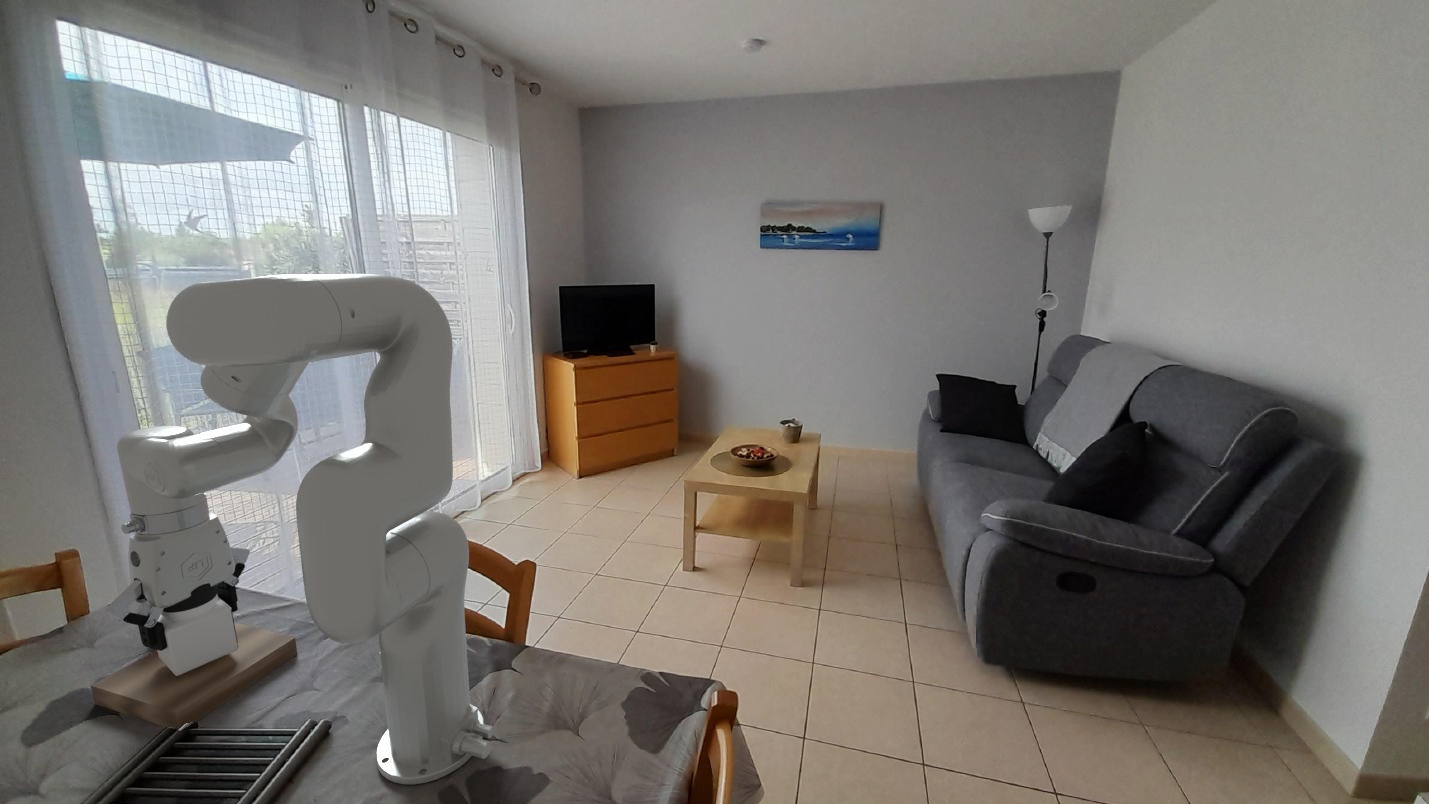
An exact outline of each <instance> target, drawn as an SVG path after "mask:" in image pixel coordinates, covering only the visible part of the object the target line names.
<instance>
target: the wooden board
mask: <svg viewBox="0 0 1429 804" xmlns="http://www.w3.org/2000/svg"><path fill="white" fill-rule="evenodd" d="M234 624H235V630H236V636H237V641H238V647H239V648H238V649H237V650H236V651H234V652H231V653H229V654H227V655H225V656H222V657H220V658H218V659H215V660H213V661H211V662H209V663H206V664H204V665H202V666H199V667H197V668H195V669H193V670H190V671H188V672H186V673H183V674H181V675H179V676H176V675H175V674H174V673H173V672H172V671H171V670H170V669H169V668H168V667H167V665H166V664H165V663H164V662H163V661H162V660H161V659H160V658H159V655H158V651H157V650H156V649H155V650H154V651H152V652H150V653H149V654H147V655H145V656H143V657H141V658H140V659H138V660H136V661H134V662H132V663H130V664H128V665H127V666H125V667H123V668H121V669H118V670H117V671H115V672H113V673H112V674H109V675H108V676H106V677H104V678H102V679H100V680H98V681H96V682H95V683H92V684H91V685H90V689H91V693H92V697H93V701H94V704H95V705H97V706H100V707H103V708H106V709H108V710H112V711H115V712H118V713H120V714H121V713H122V714H125V715H128V716H130V717H131V716H132V717H134V718H137V719H141V720H142V721H146V722H150V723H152V724H156V725H159V726H162V727H165V728H168V727H173V728H174V727H176V728H181V727H182V726H183V725H184V724H186V723H190V722H195V723H197V722H199V721H200V720H202V719H203V718H205V717H206V716H208V715H209V714H210V713H212V712H213V711H215V710H216V709H218V708H219V707H221V706H223V705H224V704H226V703H227V702H228V701H230V700H231V699H233V698H235V697H236V696H237V695H239V694H240V693H242V692H244V691H245V690H246V689H248V688H249V687H251V686H252V685H255V683H257V682H258V681H260V680H261V679H262V678H265V676H267V675H269V674H270V673H272V672H274V671H275V670H277V669H278V668H279V667H281V666H282V665H283V664H285V663H286V662H288V661H289V660H291V659H293V658H294V657H296V656H298V648H297V642H296V637H295V636H290V635H285V634H282V633H278V632H275V631H274V632H273V631H270V630H267V629H262V628H260V627H255V626H252V625H251V626H250V625H247V624H242V623H240V622H235V621H234Z"/></svg>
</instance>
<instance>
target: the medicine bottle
mask: <svg viewBox="0 0 1429 804" xmlns="http://www.w3.org/2000/svg"><path fill="white" fill-rule="evenodd" d="M233 613H234V612H232V608H231V607H230V606H229V605H228V604H226V603H225V602H224V601H223V600H222V599H220V598H219V597H218V595H217V590H216V585H215V586H211V585H210V583H207V584H203V585H201V586H199V587H197V588H195V589H194V590H193V591H192V592H191V596H190V597H189V598H187V599H185V600H183V601H181V602H179V603H177V604H175V605H172V606H170V607H166V608H164V609H163V611H162V613H161V615H160V617H159V619H158V621H157V622H161V623H163V625H164V630H165V631H164V633H165V638H166V642H167V648H166V649H164V650H162V651H160V650H157V651H158V655H159V658H160V659H161V660H162V661H163V662H164V663H165V664H166V665H167V667H168V668H169V669H170V670H171V671H172V672H173V673H174V674H175V675H176V676H179V675H181V674H183V673H186V672H188V671H190V670H193V669H195V668H197V667H199V666H202V665H204V664H206V663H209V662H211V661H213V660H215V659H218V658H220V657H222V656H225V655H227V654H229V653H231V652H234V651H236V650H237V649H238V648H239V647H238V641H237V636H236V630H235V624H234V622H235V620H234V614H233Z"/></svg>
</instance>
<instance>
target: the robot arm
mask: <svg viewBox="0 0 1429 804" xmlns="http://www.w3.org/2000/svg"><path fill="white" fill-rule="evenodd" d="M165 323H166V326H165V327H166V330H167V335H168V338H169V339H170V343H171V345H172V346H173V347H174V348H175V350H176V351H177V352H178V353H179V354H180V355H181V357H183V358H185V359H187V360H188V361H190V362H193V363H195V364H196V365H200V366H204V368H203V370H202V371H201V374H200V387H201V389H202V390H203V392H204V394H205V395H206V396H207V397H208V399H210V400H211V401H212V402H213V403H215V404H216V405H218V406H219V407H221V408H223V409H225V410H228V411H230V412H232V413H235V414H240V415H243V416H246V417H245V418H244V420H242V421H241V422H240V423H235V424H232V425H227V426H224V427H219V428H215V429H210V430H206V431H202V432H198V433H194V432H193V431H192V430H191V429H190V428H187V427H185V426H181V425H180V426H179V425H159V426H152V427H151V426H150V427H144V428H139V429H135V430H132V431H130V432H128V433H125V434H122V436H121V437H120V438H118V439H119V440H118V441H117V444H116V449H117V454H118V459H119V464H120V469H121V473H122V478H123V483H124V486H125V492H126V497H127V501H128V505H129V506H128V507H129V510H130V513H129V519H130V520H129V521H127V522H126V523H124V524H122V525H121V527H120V528H121V532H122V533H123V534H125V535H128V534H131V533H134V534H131V535H130V536H129V542H128V573H129V582H130V584H129V586H127V587H126V588H125V590H123V591H122V592H121V593H120V594H119V595H118V596H117V597H116V598H115V599H114V600H113V601H112V602H111V603H110V604H109V605H107V607H106V608H105V609H104V613H105V614H108V615H109V616H111V617H112V618H114V619H117V620H118V621H120V622H123V623H127V624H130V625H136V626H137V628H138V630H139V636H140V639H141V643H142V645H143V646H144V647H145V648H149V649H154V650H155V651H156V650H160V651H162V650H164V649H166V648H167V642H166V638H165V633H164V631H165V630H164V625H163V623H161V622H157V621H158V619H159V617H160V615H161V613H162V611H163V609H164V608H166V607H170V606H172V605H175V604H177V603H179V602H181V601H183V600H185V599H187V598H189V597H190V596H191V592H192V591H193V590H194V589H195V588H197V587H199V586H201V585H203V584H207V583H210V585H211V586H215V585H216V590H217V595H218V597H219V598H220V599H222V600H223V601H224V602H225V603H226V604H228V605H229V606H230V607H231V608H232V613H235V612H237V611H238V610H239V607H238V603H237V602H238V601H239V599H238V594H237V593H238V592H237V589H236V586H237V585H238V584H239V583H240V579H239V578H240V576H241V574H242V573H243V571H244V570H245V568H246V562H248V561H247V560H248V558H249V555H250V552H251V551H250V549H248V548H243V547H232V546H231V545H230V542H229V539H228V535H227V533H226V531H225V528H224V526H223V524H222V522H221V521H220V519H219V517H218V515H217V514H216V513H210V509H209V503H208V498H207V493H208V492H210V491H214V490H216V489H217V490H218V489H219V488H222V487H225V486H227V485H231V484H233V483H236V482H237V483H238V482H239V481H240V482H241V481H242V480H245V479H249V478H252V477H255V476H257V475H261V474H263V473H266V472H267V471H269V470H270V469H271V468H273V467H274V466H276V465H277V464H278V463H279V462H280V461H281V459H282V458H283V457H284V456H285V454H286V453H287V451H288V449H289V448H290V446H291V445H292V443H293V442H294V440H295V438H296V437H297V433H298V429H299V421H298V412H297V408H296V405H295V403H294V402H293V400H292V398H291V396H290V394H291V393H292V391H293V389H294V388H295V386H296V384H297V382H298V380H299V379H300V378H301V376H302V374H304V371H305V369H306V368H307V366H308V365H309V363H312V362H318V361H319V362H320V361H324V360H325V361H326V360H330V359H339V358H344V357H350V356H351V357H352V356H355V355H356V356H357V355H362V354H367V353H374V352H376V353H377V354H378V355H379V357H380V358H379V360H378V362H377V363H376V365H375V367H374V369H373V371H372V372H371V375H370V376H369V379H368V382H367V385H366V389H365V393H364V397H363V399H364V400H363V408H364V409H363V411H364V418H365V431H364V432H365V434H364V438H363V441H362V442H361V444H360V445H358V446H357V447H352V448H350V449H347V450H344V451H341V452H338V453H335V454H333V455H330V456H328V457H327V458H324V459H322V460H320V461H319V462H317V463H316V464H315V465H313V466H312V467H311V468H310V469H309V470H308V471H307V472H306V474H305V475H304V477H303V479H302V480H301V482H300V485H299V488H298V490H297V493H296V495H297V496H296V501H295V513H296V514H295V516H296V526H297V527H296V528H297V533H298V534H297V535H298V537H297V538H298V543H299V553H300V555H299V556H300V562H301V572H302V579H303V587H304V589H303V590H304V594H305V600H306V605H307V608H308V611H309V613H310V617H311V619H312V621H313V623H314V624H315V625H316V627H317V628H318V630H319V631H320V632H321V633H322V634H323V635H324V636H326V637H327V638H328V639H330V640H332V641H334V642H337V643H340V644H345V645H346V644H347V645H349V644H350V645H351V644H352V645H353V644H357V643H362V642H365V641H367V640H369V639H371V638H374V637H375V636H377V635H378V646H379V649H378V650H379V658H380V665H381V676H382V683H383V685H382V686H383V687H382V688H383V695H384V705H385V714H386V721H387V722H386V723H387V730H386V731H385V732H384V734H383V735H382V737H381V739H380V740H379V742H378V744H377V747H376V748H377V749H376V752H375V753H376V754H375V755H376V765H377V769H378V771H379V772H380V774H381V775H382V776H383V777H384V778H385V779H386V780H388V781H390V782H392V783H396V784H400V785H417V784H419V785H420V784H425V783H426V784H427V783H428V782H432V781H436V780H438V779H441V778H443V777H445V776H447V775H449V774H451V773H453V772H454V771H456V770H457V769H459V768H461V767H462V766H463V765H464V764H466V763H467V762H468V761H469V760H470V759H471V757H476V758H479V759H483V760H485V759H487V757H488V756H489V754H490V753H491V750H492V746H493V742H492V741H490V740H486V739H483V738H487V739H491V738H492V737H493V735H494V733H495V726H493V725H490V724H489V725H488V724H487V723H486V724H485V719H484V717H483V714H482V712H481V711H480V709H479V708H478V707H477V706H474V704H471V697H470V695H471V694H470V684H469V683H470V680H469V665H468V653H467V652H468V650H467V649H468V648H467V637H466V633H467V632H466V631H467V630H466V618H465V617H466V613H465V592H466V582H467V576H468V572H469V571H468V570H469V562H470V555H469V554H470V548H469V542H468V538H467V535H466V532H465V530H464V529H463V527H462V525H461V524H459V522H458V521H457V520H456V519H454V518H453V517H452V516H450V515H448V514H446V513H443V512H437V511H430V509H432V508H434V507H436V506H437V505H438V504H440V503H441V502H442V501H443V500H444V499H445V498H447V496H448V495H449V494H450V491H451V490H452V487H453V486H452V485H453V480H454V478H453V476H454V475H453V474H454V473H453V472H454V466H453V461H454V460H453V458H454V457H453V435H452V434H453V433H452V432H453V431H452V412H451V392H450V391H451V379H452V378H451V376H452V365H453V349H454V348H453V347H454V346H453V336H452V330H451V325H450V322H449V320H448V317H447V315H446V313H445V311H444V310H443V308H442V306H441V304H440V303H439V302H438V300H437V299H436V298H435V297H434V296H433V295H432V294H431V293H430V292H428V290H427V289H426V288H423V286H421V285H419V284H417V283H415V281H414V282H413V281H411V280H408V279H405V278H402V277H397V276H392V275H387V274H386V275H385V274H378V273H377V274H374V273H339V274H275V275H266V276H264V275H263V276H256V277H248V278H239V279H238V278H237V279H228V280H219V281H203V282H201V281H200V282H196V283H194V284H192V285H189V286H187V287H185V288H184V289H183V290H181V291H180V292H179V293H178V294H177V295H176V296H175V297H174V298H173V300H172V301H171V303H170V306H169V308H168V311H167V315H166V322H165ZM428 510H429V511H428ZM134 602H136V603H139V604H138V607H137V609H136V611H135V612H133V611H131V610H130V609H129V607H130V606H131V605H132V604H133V603H134ZM151 607H152V608H151ZM149 610H150V611H149ZM148 612H149V613H148Z"/></svg>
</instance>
